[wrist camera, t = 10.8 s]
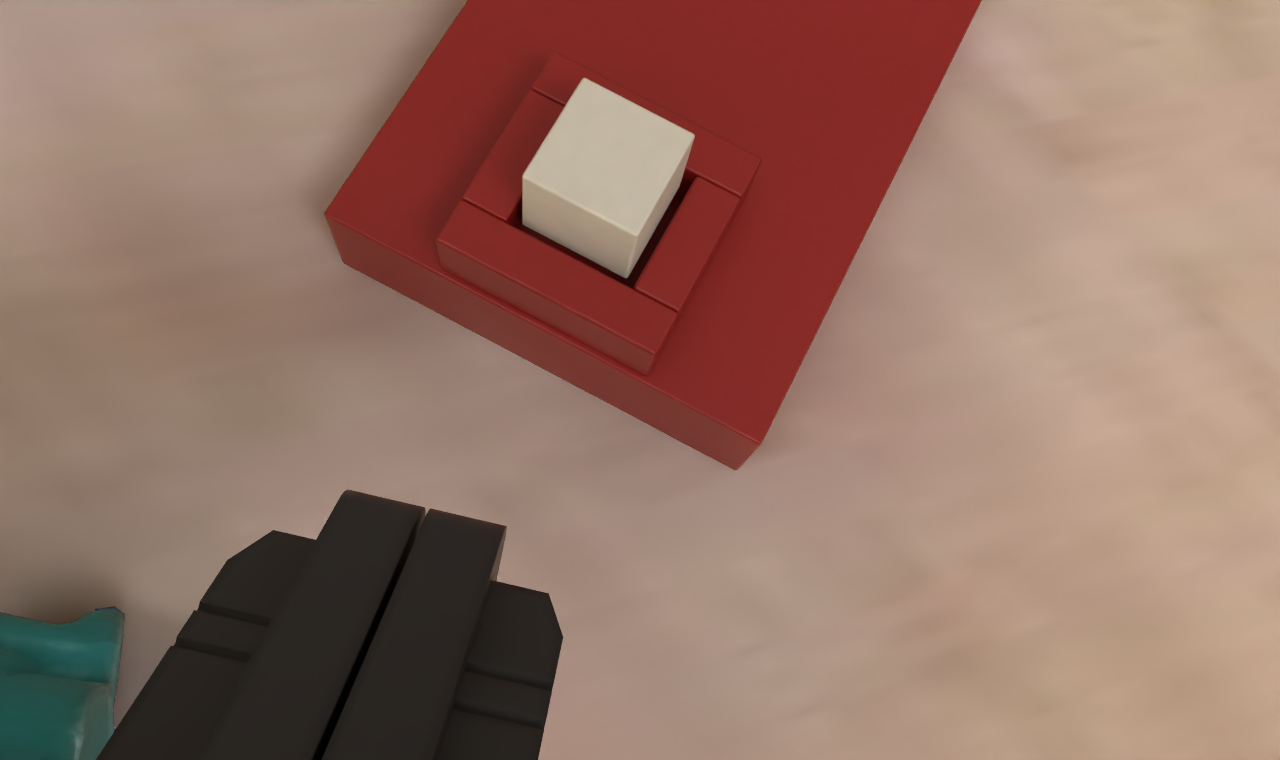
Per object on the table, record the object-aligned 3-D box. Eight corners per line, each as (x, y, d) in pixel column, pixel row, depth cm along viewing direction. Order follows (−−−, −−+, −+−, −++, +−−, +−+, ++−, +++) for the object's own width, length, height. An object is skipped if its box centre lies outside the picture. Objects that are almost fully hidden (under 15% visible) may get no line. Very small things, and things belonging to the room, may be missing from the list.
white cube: (521, 224, 26) (520, 175, 24) (577, 131, 27) (582, 75, 25) (626, 280, 26) (637, 236, 24) (680, 185, 27) (696, 134, 25)
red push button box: (342, 263, 30) (308, 180, 26) (616, -154, 35) (631, -289, 30) (736, 471, 30) (777, 427, 25) (961, 21, 35) (1032, -89, 30)
